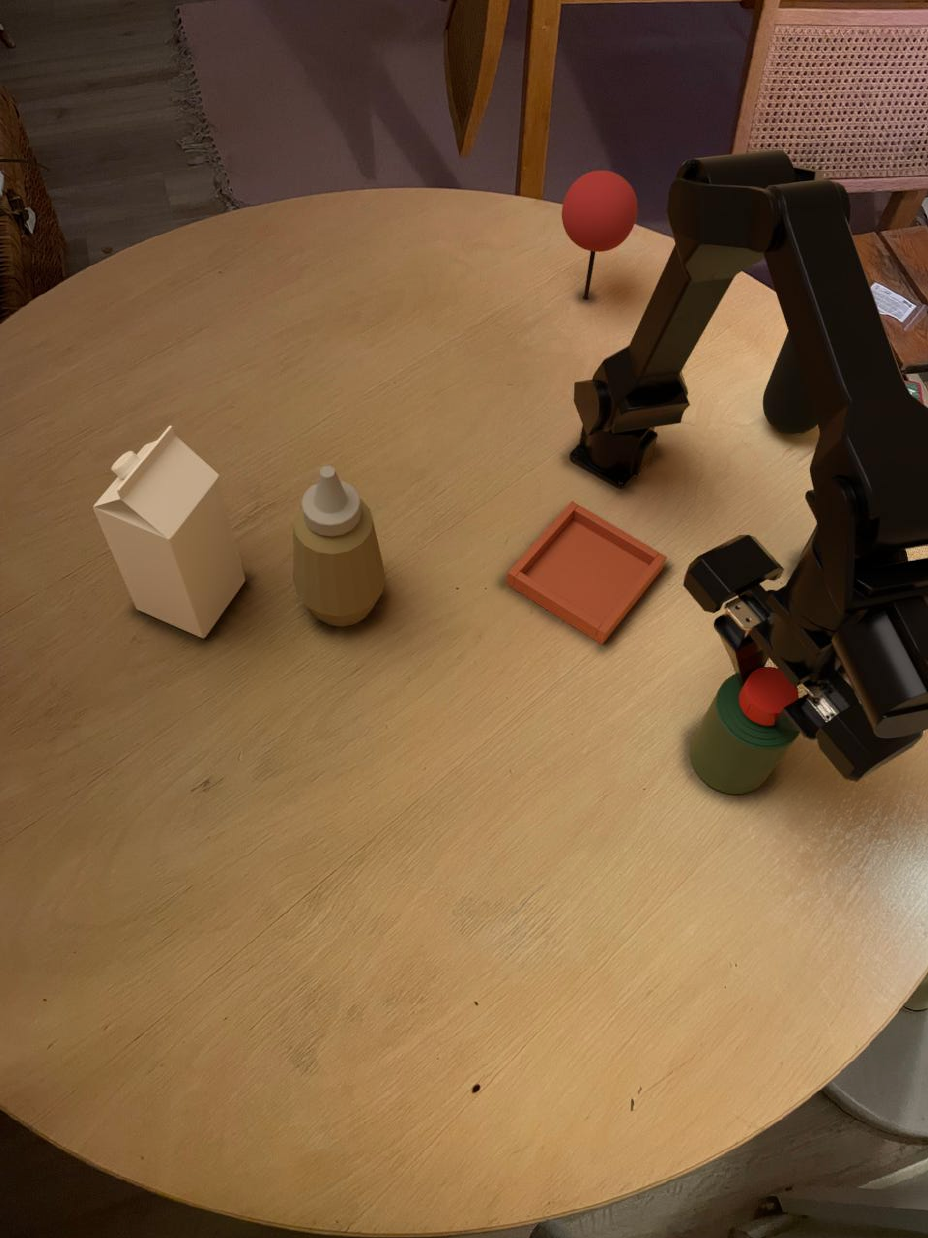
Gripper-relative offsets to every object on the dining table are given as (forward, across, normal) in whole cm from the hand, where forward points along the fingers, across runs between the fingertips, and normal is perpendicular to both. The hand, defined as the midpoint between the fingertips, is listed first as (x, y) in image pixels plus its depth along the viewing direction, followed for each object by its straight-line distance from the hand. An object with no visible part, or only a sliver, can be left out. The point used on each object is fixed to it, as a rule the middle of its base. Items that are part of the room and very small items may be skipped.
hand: (763, 705), depth 79 cm
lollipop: (+10, +53, -22) cm, 58 cm away
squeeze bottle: (+10, +30, +21) cm, 38 cm away
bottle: (+10, 0, 0) cm, 10 cm away
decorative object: (+10, +27, -29) cm, 41 cm away
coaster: (+10, +21, 0) cm, 24 cm away
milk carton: (+10, +37, +33) cm, 51 cm away
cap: (-2, 0, 0) cm, 2 cm away
